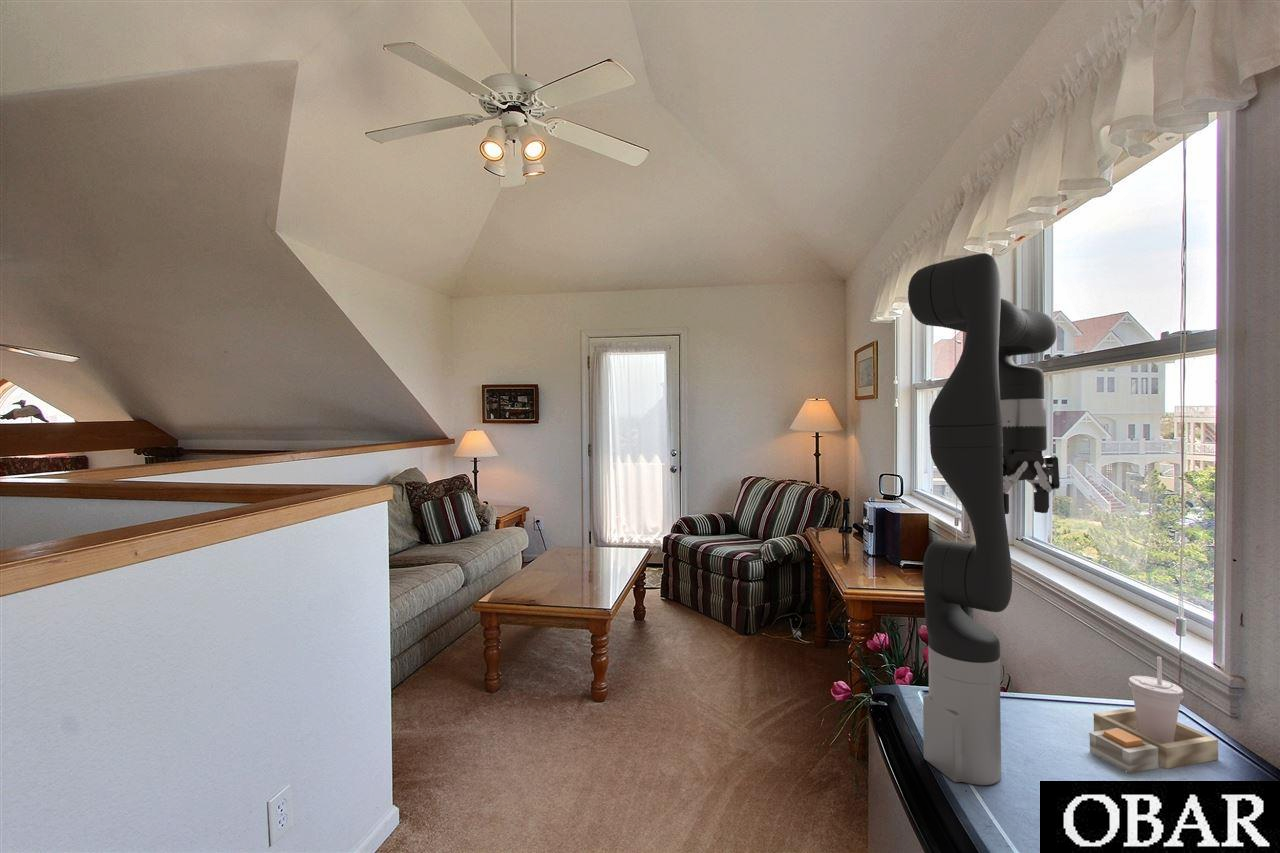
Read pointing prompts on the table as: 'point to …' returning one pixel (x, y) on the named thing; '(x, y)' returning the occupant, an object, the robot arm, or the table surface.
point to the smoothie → (1156, 705)
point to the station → (1149, 744)
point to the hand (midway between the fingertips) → (1021, 513)
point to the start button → (1123, 738)
